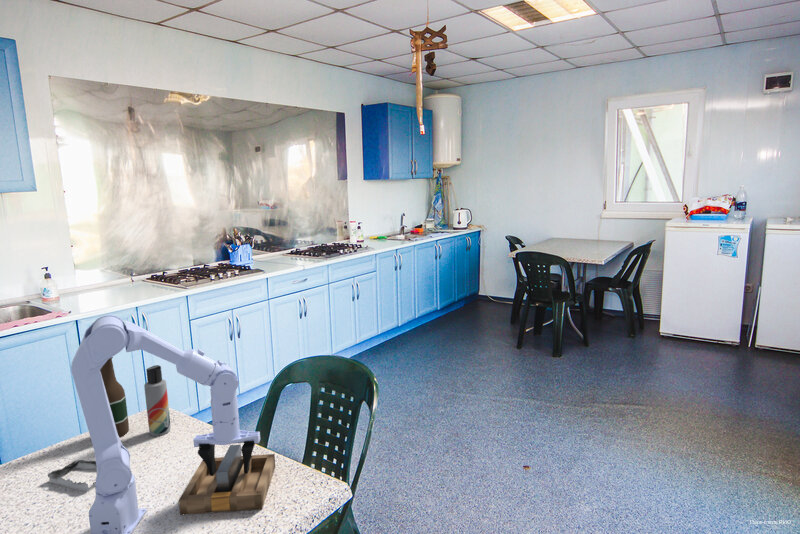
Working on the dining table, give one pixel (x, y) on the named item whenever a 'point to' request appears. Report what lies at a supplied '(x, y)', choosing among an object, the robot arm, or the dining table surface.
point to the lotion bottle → (157, 402)
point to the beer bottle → (115, 398)
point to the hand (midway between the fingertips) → (230, 472)
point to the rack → (243, 495)
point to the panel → (229, 469)
